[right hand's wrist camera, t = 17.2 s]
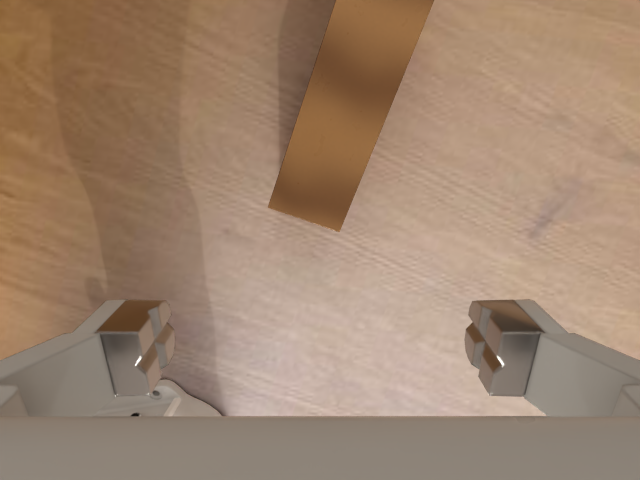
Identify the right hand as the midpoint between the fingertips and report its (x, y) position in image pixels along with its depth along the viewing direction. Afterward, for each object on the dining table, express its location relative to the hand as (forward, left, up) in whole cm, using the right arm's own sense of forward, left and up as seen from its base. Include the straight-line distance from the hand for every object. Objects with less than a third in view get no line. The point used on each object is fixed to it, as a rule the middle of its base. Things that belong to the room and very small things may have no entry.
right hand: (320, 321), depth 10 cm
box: (+3, +7, -29) cm, 29 cm away
